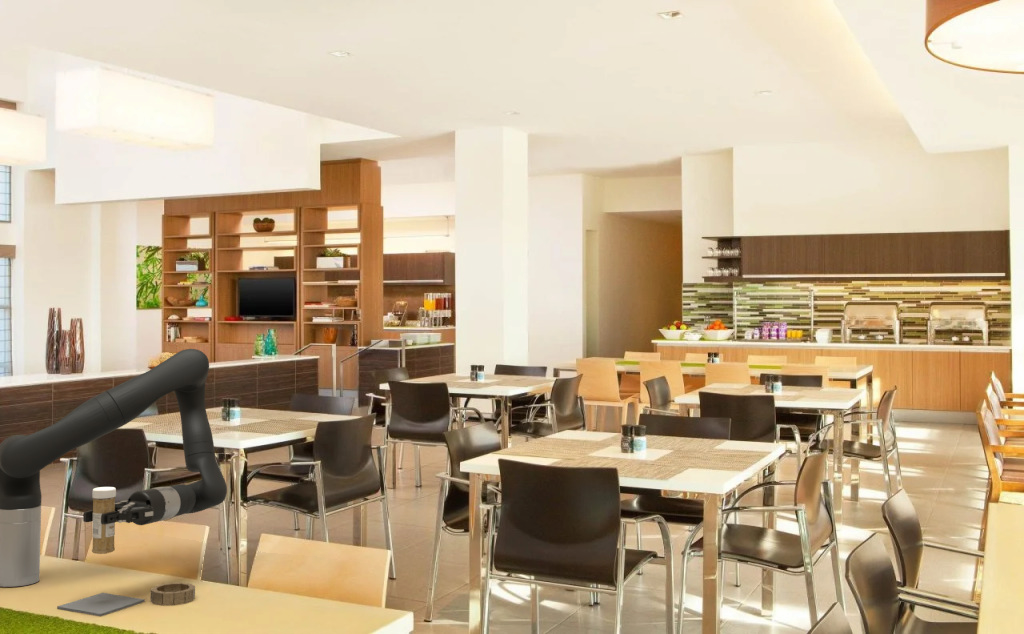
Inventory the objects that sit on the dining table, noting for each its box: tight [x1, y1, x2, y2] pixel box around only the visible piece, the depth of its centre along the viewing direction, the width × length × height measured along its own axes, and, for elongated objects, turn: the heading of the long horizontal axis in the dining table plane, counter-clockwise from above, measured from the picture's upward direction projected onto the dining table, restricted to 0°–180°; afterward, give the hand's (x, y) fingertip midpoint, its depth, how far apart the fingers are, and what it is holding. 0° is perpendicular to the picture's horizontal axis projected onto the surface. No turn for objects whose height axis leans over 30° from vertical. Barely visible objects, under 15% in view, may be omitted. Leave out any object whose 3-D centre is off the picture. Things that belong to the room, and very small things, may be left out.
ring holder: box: [149, 582, 196, 606], centre depth 209 cm, size 9×9×2 cm
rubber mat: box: [56, 592, 146, 617], centre depth 203 cm, size 12×12×1 cm
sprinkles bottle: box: [91, 486, 117, 555], centre depth 204 cm, size 5×5×14 cm
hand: (93, 518), depth 201 cm, fingers closed on sprinkles bottle, 4 cm apart
